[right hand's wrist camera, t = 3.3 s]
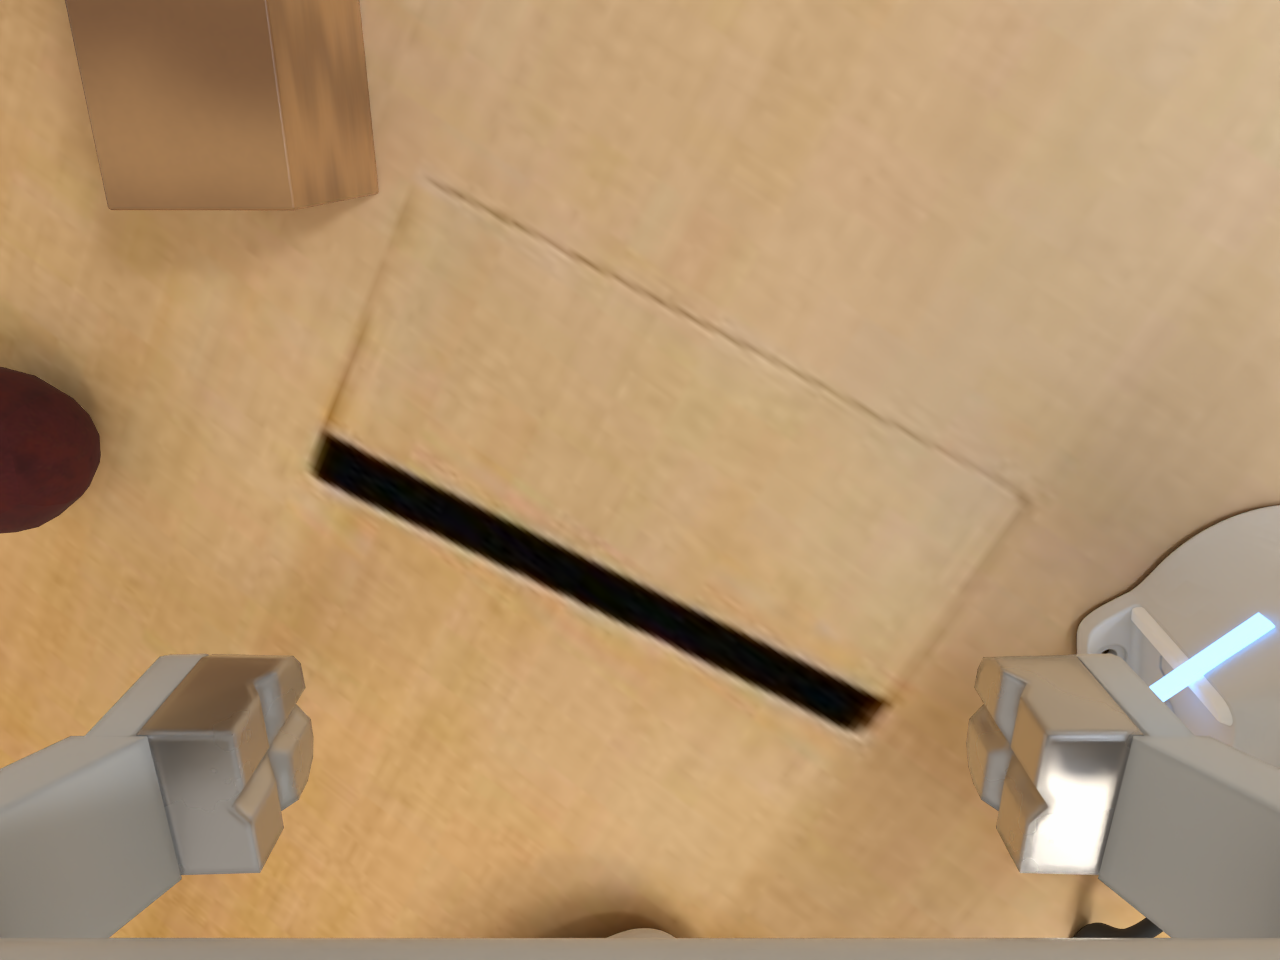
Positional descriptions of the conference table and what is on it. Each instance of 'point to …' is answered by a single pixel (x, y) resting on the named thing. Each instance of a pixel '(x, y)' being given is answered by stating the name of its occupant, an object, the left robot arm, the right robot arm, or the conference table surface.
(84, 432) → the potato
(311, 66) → the box
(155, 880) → the right robot arm
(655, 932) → the white plastic device
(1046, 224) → the conference table surface
